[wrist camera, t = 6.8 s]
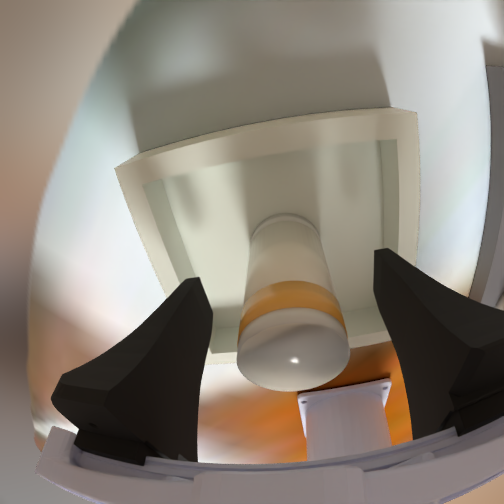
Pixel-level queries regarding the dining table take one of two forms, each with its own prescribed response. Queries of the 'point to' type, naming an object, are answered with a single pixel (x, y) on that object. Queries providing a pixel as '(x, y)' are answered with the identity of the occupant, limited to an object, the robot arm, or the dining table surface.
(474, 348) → the robot arm
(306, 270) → the cylinder
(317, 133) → the tray
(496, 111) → the fuse holder
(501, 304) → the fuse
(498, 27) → the dining table surface
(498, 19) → the dining table surface
